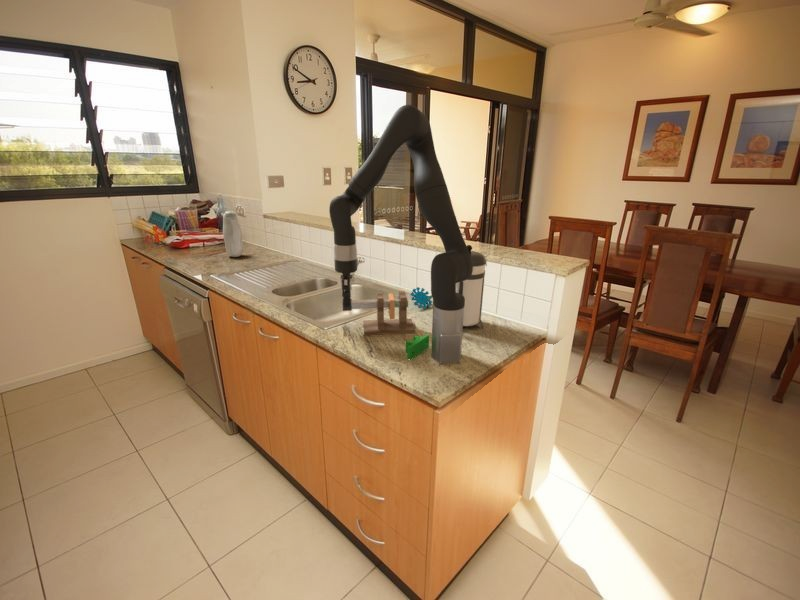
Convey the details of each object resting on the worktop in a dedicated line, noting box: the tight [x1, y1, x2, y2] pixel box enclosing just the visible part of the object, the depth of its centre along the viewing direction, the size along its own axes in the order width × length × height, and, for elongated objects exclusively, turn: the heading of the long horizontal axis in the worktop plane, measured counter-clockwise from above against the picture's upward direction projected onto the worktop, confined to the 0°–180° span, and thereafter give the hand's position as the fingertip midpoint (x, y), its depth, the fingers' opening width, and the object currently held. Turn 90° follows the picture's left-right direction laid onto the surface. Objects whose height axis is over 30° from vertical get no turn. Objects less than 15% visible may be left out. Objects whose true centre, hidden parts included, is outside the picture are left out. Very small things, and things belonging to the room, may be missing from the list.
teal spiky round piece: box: [410, 286, 433, 310], centre depth 157 cm, size 11×6×10 cm
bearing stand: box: [362, 290, 416, 337], centre depth 133 cm, size 10×18×13 cm, turn 97°
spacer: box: [387, 293, 396, 320], centre depth 133 cm, size 7×2×7 cm, turn 7°
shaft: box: [342, 298, 409, 312], centre depth 132 cm, size 3×23×3 cm, turn 96°
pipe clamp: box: [405, 333, 430, 361], centre depth 119 cm, size 11×4×5 cm, turn 145°
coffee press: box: [456, 244, 488, 329], centre depth 134 cm, size 17×16×30 cm
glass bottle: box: [222, 210, 244, 258], centre depth 229 cm, size 10×10×28 cm
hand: (347, 302), depth 131 cm, fingers open, 8 cm apart
